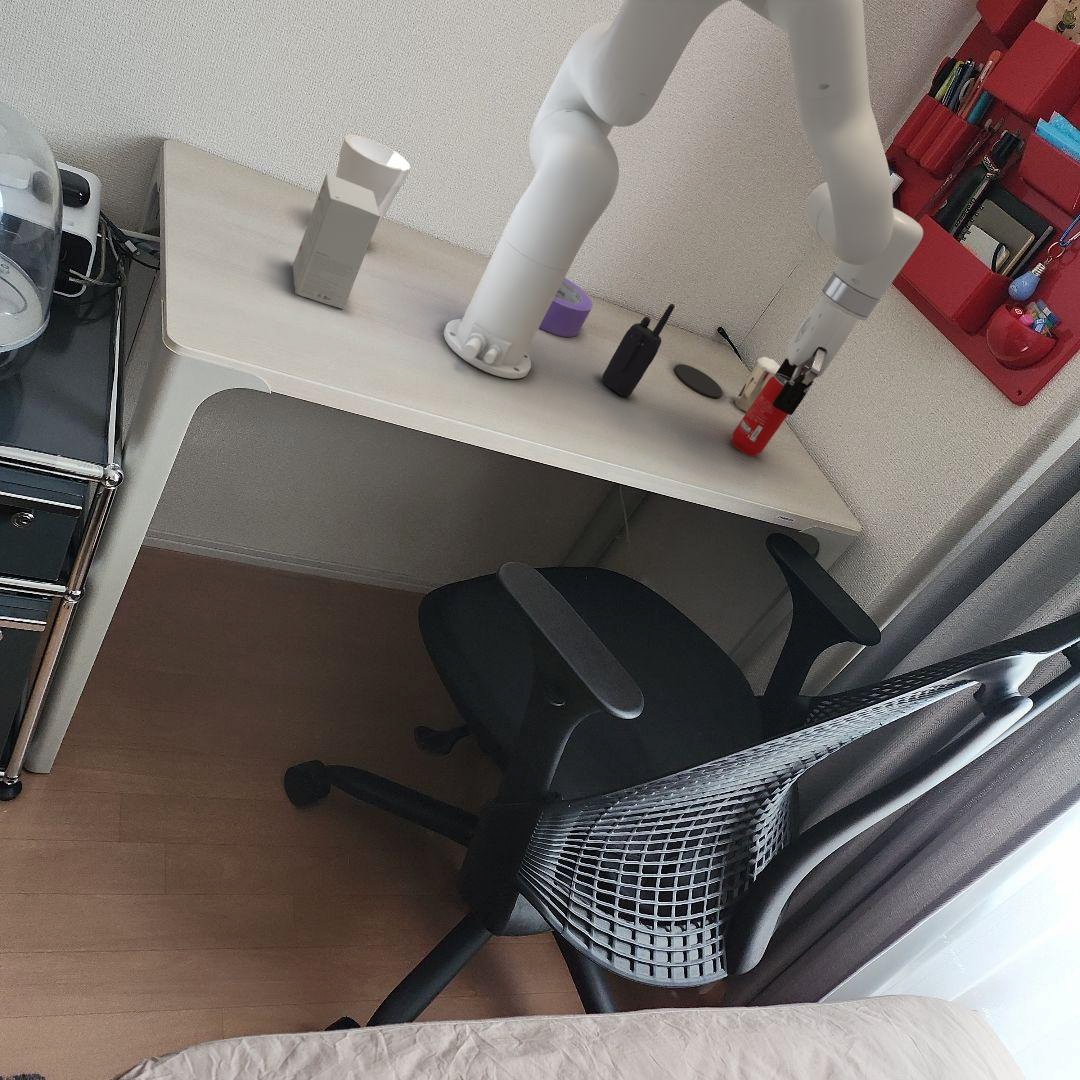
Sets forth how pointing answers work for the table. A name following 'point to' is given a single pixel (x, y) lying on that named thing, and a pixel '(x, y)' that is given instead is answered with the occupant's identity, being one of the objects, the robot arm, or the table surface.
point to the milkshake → (756, 382)
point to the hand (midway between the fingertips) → (780, 397)
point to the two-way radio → (634, 355)
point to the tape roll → (567, 310)
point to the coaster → (698, 381)
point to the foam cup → (373, 169)
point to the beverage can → (760, 419)
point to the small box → (335, 241)
